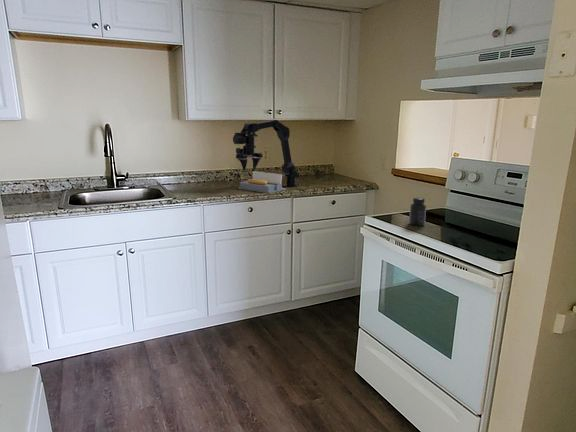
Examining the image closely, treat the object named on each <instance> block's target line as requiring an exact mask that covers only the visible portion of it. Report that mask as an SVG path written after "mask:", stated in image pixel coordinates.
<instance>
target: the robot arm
mask: <svg viewBox="0 0 576 432" xmlns="http://www.w3.org/2000/svg"><path fill="white" fill-rule="evenodd" d="M268 128H272V129H273V130H274V131H275V132H276V135H277V138H278V140H279V141H280V145H281V151H282V152H281V153H282V157H283V164H281V171H282V173H283V174H284V177H286V184H285V185H284V186H285V187H291V188H293V187H298V186H299V185H298V184H297V178H299V176H300V174H299V173H298V172H297V170H296V166H295V164H294V163H293V161H292V154H291V148H290V144H289V143H290V142H289V138H290V135H291V133H290V132H291V130H290V127H288V126H286V125H284V124H283V123H281V122H280V121H279V120H278V119H271V120H268V121H267V120H266V121H262V122H261V121H260V122H244V125H243V128H242V129H241V130H240V132H234V134H233V137H232V143H233V144H234V145H243V146H242V148H240V147H236V149H235V153H236V155H235V159H237V160H238V161H239V162H240V164H241V167H242V171H246V169H247V164H248V158H251V160H252V169H253V170H256V168H257V166H258V164H259V162H260V160H262V159H263V153H262V152H255V149H256V147H257V146H256V145H255V138H256V137H258V134H257V133H256V132H258V131H261V130H263V129H268Z"/></svg>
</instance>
